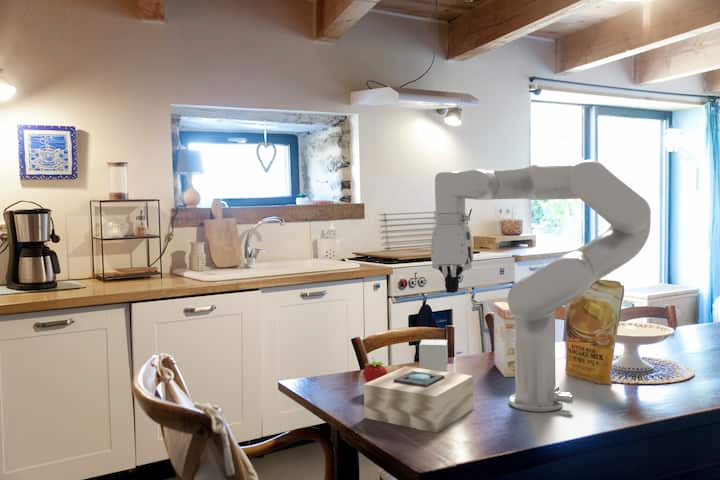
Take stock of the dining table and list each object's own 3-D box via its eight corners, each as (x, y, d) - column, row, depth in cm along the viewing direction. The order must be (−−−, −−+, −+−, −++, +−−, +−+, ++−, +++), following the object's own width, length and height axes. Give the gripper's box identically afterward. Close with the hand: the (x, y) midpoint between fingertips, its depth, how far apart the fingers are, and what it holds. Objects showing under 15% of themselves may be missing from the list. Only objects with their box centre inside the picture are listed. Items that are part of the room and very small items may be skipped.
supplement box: (447, 392, 164) (446, 345, 163) (419, 391, 165) (418, 344, 165) (448, 384, 171) (447, 339, 171) (421, 383, 173) (420, 338, 172)
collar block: (473, 408, 150) (473, 373, 150) (436, 432, 135) (435, 393, 134) (406, 396, 161) (405, 363, 161) (364, 417, 146) (363, 381, 145)
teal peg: (434, 404, 148) (433, 375, 148) (423, 410, 144) (423, 380, 144) (416, 401, 151) (415, 373, 151) (405, 407, 147) (404, 377, 147)
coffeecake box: (529, 377, 176) (528, 308, 175) (504, 377, 177) (502, 309, 176) (517, 364, 191) (516, 301, 190) (493, 364, 192) (492, 301, 191)
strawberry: (373, 398, 160) (372, 360, 160) (359, 391, 167) (358, 355, 166) (393, 395, 163) (392, 357, 163) (378, 388, 170) (377, 351, 169)
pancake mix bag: (572, 368, 184) (571, 274, 182) (627, 384, 167) (626, 280, 165) (555, 372, 181) (554, 276, 179) (609, 388, 164) (608, 282, 162)
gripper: (483, 219, 157) (485, 291, 158) (431, 220, 166) (433, 288, 166) (471, 220, 151) (472, 295, 152) (417, 221, 159) (419, 292, 160)
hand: (452, 291), depth 159 cm, fingers closed
